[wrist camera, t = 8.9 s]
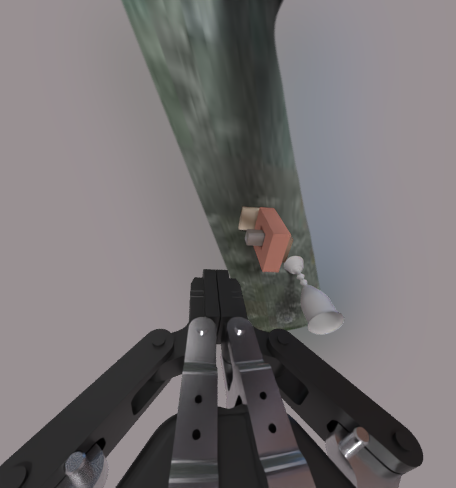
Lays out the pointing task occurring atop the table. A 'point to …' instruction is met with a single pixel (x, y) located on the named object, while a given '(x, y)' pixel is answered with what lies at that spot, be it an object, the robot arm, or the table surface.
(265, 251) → the pink block with hole
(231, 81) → the table surface
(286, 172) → the table surface
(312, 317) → the chalice
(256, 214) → the pipe stand
